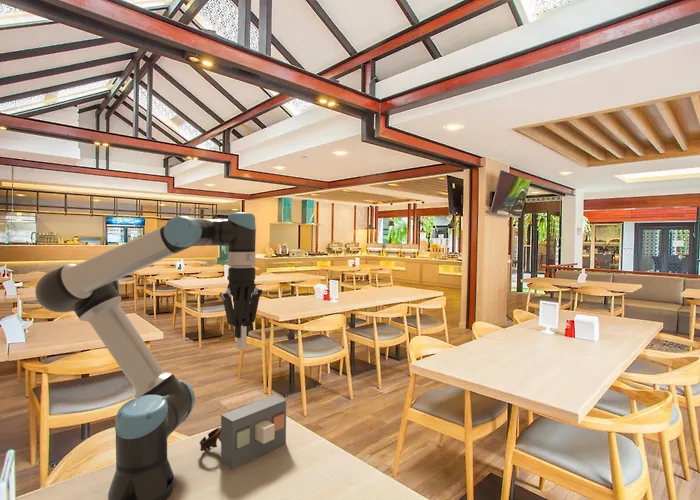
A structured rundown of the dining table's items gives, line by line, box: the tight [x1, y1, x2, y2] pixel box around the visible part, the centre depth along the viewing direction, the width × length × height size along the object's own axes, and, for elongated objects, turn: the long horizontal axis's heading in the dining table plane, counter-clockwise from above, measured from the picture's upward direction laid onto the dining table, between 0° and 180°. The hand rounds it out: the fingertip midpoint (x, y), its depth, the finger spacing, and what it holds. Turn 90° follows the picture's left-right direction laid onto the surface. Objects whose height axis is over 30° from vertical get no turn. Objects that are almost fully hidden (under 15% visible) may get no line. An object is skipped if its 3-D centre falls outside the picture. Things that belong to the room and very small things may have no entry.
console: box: [220, 395, 287, 470], centre depth 121 cm, size 20×6×14 cm, turn 139°
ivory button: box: [255, 419, 274, 444], centre depth 118 cm, size 4×5×4 cm
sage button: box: [236, 427, 250, 449], centre depth 115 cm, size 4×5×4 cm
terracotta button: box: [272, 413, 284, 432], centre depth 125 cm, size 4×5×4 cm
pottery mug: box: [199, 426, 221, 453], centre depth 121 cm, size 12×9×8 cm
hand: (241, 348), depth 112 cm, fingers closed
